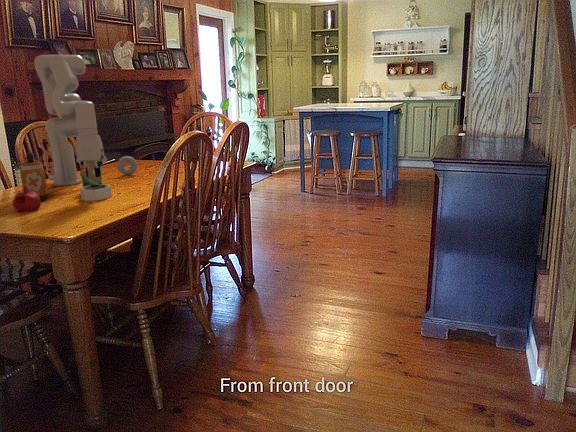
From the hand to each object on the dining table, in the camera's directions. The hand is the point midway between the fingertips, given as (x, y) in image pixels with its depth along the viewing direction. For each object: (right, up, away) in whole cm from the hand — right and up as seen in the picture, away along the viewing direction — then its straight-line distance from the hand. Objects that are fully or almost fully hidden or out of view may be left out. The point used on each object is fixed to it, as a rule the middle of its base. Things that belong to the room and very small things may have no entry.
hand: (93, 176), depth 206 cm
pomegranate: (-20, -14, -15) cm, 28 cm away
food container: (-5, -5, +17) cm, 18 cm away
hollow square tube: (0, -9, +2) cm, 9 cm away
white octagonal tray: (0, -9, +2) cm, 9 cm away
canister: (-25, -10, +2) cm, 27 cm away
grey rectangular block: (0, -2, 0) cm, 2 cm away
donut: (-2, +5, +52) cm, 52 cm away
